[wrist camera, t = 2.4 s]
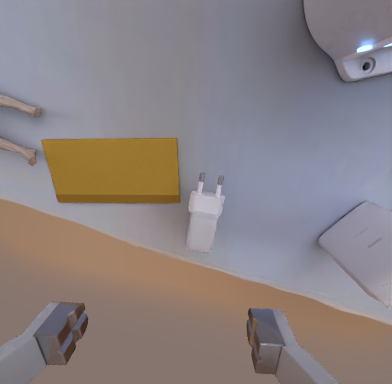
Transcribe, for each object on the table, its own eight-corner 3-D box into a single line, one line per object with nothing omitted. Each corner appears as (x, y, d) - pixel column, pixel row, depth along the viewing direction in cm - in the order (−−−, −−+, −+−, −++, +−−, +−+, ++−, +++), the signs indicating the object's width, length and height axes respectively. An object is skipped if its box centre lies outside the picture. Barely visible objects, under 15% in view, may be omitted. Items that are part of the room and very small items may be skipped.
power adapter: (195, 165, 28) (193, 175, 23) (227, 171, 28) (232, 182, 23) (184, 229, 32) (180, 251, 27) (212, 234, 32) (214, 256, 27)
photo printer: (367, 195, 29) (478, 244, 17) (383, 211, 29) (500, 269, 18) (311, 238, 32) (374, 305, 20) (328, 252, 32) (397, 324, 21)
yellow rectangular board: (176, 138, 27) (176, 138, 26) (179, 202, 30) (179, 203, 30) (43, 139, 28) (40, 139, 27) (60, 201, 31) (58, 202, 31)
